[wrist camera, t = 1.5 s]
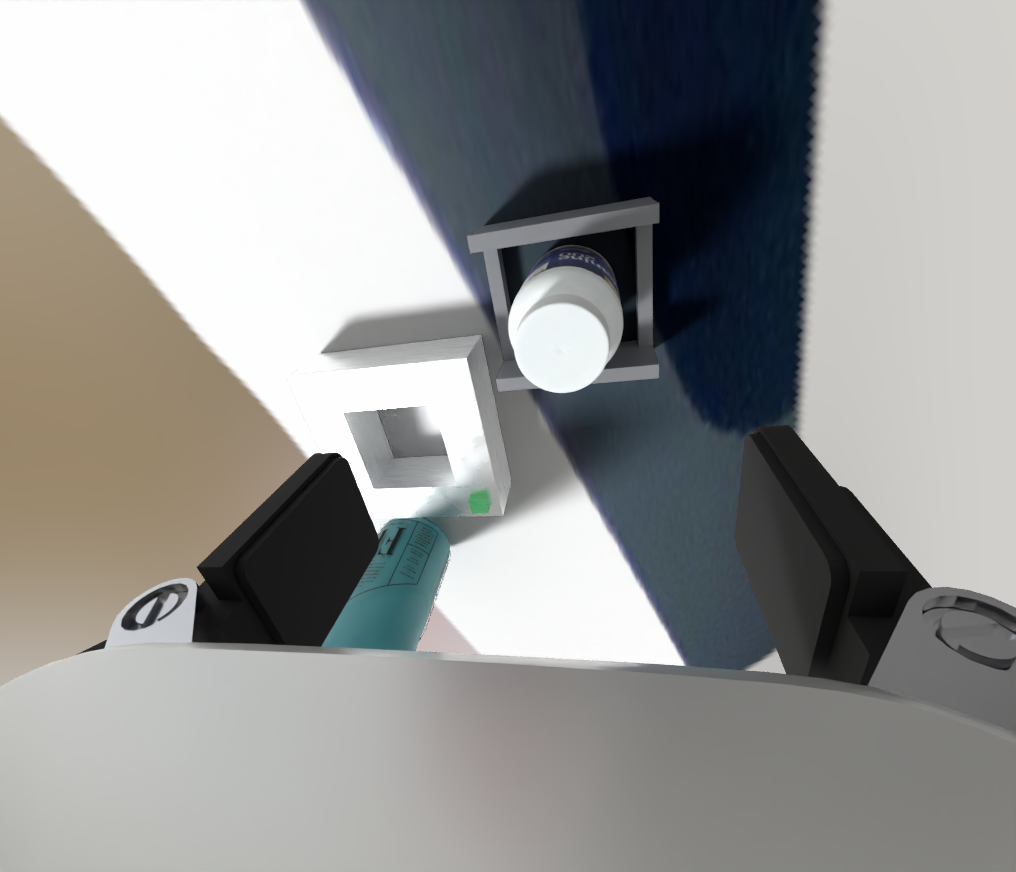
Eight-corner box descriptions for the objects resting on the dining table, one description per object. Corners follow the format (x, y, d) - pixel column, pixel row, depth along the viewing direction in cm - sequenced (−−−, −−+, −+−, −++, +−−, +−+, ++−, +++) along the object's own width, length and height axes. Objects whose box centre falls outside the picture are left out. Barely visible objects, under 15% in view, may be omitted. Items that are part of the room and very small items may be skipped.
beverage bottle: (419, 489, 37) (276, 765, 20) (473, 538, 39) (384, 825, 22) (372, 521, 40) (213, 784, 23) (424, 565, 42) (313, 836, 25)
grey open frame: (483, 225, 25) (466, 236, 22) (649, 196, 23) (659, 203, 20) (508, 365, 30) (498, 391, 26) (650, 351, 28) (658, 377, 24)
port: (319, 353, 31) (281, 380, 28) (481, 334, 29) (464, 362, 25) (373, 486, 38) (348, 524, 34) (511, 481, 35) (501, 521, 31)
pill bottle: (636, 282, 26) (657, 341, 17) (576, 351, 28) (570, 429, 20) (564, 221, 25) (550, 253, 16) (508, 298, 27) (473, 358, 19)
